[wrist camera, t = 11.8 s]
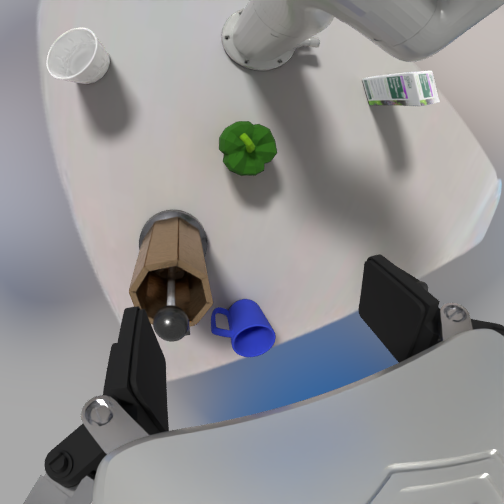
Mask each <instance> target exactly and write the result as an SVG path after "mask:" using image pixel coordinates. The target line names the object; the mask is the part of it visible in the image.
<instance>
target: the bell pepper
mask: <svg viewBox="0 0 504 504" xmlns="http://www.w3.org/2000/svg"><path fill="white" fill-rule="evenodd" d="M219 150H220V151H221V152H222V153H224V158H223V162H224V164H225V165H226V167H227V168H228V169H229V170H230V171H232V172H234V173H236V174H239V175H241V176H243V175H257V174H258V173H260V172H262V171H264V164H265V163H268V162H271V160H272V159H273V158H274V156H275V155H276V154H277V149H276V143H275V139H274V137H273V135H272V133H271V131H270V129H268V128H266V127H264V126H262V125H260V124H255V125H253V124H252V123H250V122H249V121H239V122H235V123H234V124H232V125H230V126H228V127H227V128H225V129H224V131H223V133H222V134H221V136H220V137H219Z"/></svg>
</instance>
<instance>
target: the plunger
mask: <svg viewBox="0 0 504 504" xmlns="http://www.w3.org/2000/svg"><path fill="white" fill-rule="evenodd" d="M153 271H154V272H155V273H156V274H157V275H159V276H160V277H163V278H165V279H168V289H167V306H164V307H162V308H160V309H159V310H158V311H157V312H156V314H155V316H154V319H153V327H154V330H155V332H156V333H157V335H158V336H159V337H160V338H162V339H163V340H166V341H178V340H180V339H182V338H183V337H184V336H185V335H186V333H187V331H188V329H189V319H188V316H187V314H186V313H185V312H184V311H183V310H182V309H181V308H179V307H177V306H175V279H180V278H183V277H185V276H186V275H188V274H189V272H187V271H185V270H184V269H182V268H180V267H178V266H173V267H168V268H162V269H157V270H153Z"/></svg>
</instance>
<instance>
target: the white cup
mask: <svg viewBox="0 0 504 504" xmlns="http://www.w3.org/2000/svg"><path fill="white" fill-rule="evenodd" d="M109 64H110V57H109V54H108V53H107V51H106V49H105V47H104V46H103V44H102V43H101V42H100V41H99V39H98V38H97V37H96V35H95V34H94V33H93V32H92V31H91V30H89V29H87V28H75V29H71V30H69V31H67V32H65V33H64V34H62V35H61V36H60V37H59V38H58V39H57V40H56V41H55V42H54V43H53V45H52V46H51V48H50V50H49V53H48V56H47V69H48V71H49V73H50V74H51V75H52V76H53V77H54V78H57V79H60V80H65V81H70V82H75V83H83V84H89V83H94V82H96V81H97V80H99V79H101V78H102V77H103V76H104V74H105V73H106V72H107V71H108V68H109Z"/></svg>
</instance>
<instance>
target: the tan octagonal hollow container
mask: <svg viewBox="0 0 504 504" xmlns="http://www.w3.org/2000/svg"><path fill="white" fill-rule="evenodd" d="M139 249H140V251H139V255H138V258H137V262H136V265H135V269H134V273H133V277H132V280H131V284H130V288H129V294H130V296H131V299H132V302H133V304H134V307H136V306H139V307H140V309H145V311H146V313H147V316H148V318H149V321H150V323H151V324H153V319H154V316H155V314H156V312H157V311H158V310H159V309H160V308H162V307H164V306H167V289H168V279H165V278H163V277H160V276H159V275H157V274H156V273H155V272H154V271H153V270H157V269H162V268H168V267H173V266H178V267H180V268H182V269H184V270H185V271H187V272H189V274H188V275H186V276H185V277H183V278H180V279H175V306H177V307H179V308H181V309H182V310H183V311H184V312H185V313H186V314H187V316H188V319H189V326H195V324H197V323H198V322H199V321H200V319H201V318H202V317H203V316H204V315H205V313H206V312H207V311H208V310H209V308H210V307H211V306H212V305H213V299H212V295H211V290H210V285H209V280H208V275H207V269H206V264H205V259H204V257H205V254H206V250H207V238H206V234H205V231H204V228H203V227H202V225H201V223H200V222H199V221H198V220H197V219H196V218H195V217H194V216H192V215H191V214H189V213H186V212H184V211H180V210H166V211H162V212H160V213H157V214H156V215H154V216H153V217H151V218H150V219H149V220H148V221H147V223H146V224H145V225H144V227H143V229H142V232H141V235H140V239H139ZM186 335H190V327H189V329H188V331H187V333H186ZM186 335H185V336H186Z"/></svg>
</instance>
